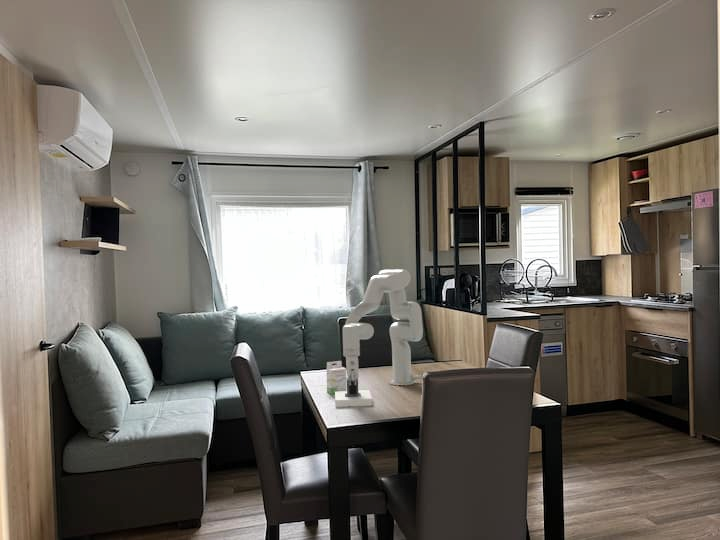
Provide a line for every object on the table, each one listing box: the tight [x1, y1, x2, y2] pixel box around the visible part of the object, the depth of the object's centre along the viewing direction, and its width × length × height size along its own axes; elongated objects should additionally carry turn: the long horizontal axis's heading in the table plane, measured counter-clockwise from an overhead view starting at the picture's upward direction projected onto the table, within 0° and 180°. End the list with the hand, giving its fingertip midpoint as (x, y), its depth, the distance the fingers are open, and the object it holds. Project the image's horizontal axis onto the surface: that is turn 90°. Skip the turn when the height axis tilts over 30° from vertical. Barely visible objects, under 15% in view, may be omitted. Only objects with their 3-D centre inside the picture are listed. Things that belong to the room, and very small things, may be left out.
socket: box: [334, 389, 373, 408], centre depth 230 cm, size 16×16×3 cm
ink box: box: [326, 360, 347, 395], centre depth 249 cm, size 9×5×15 cm, turn 118°
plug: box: [346, 377, 359, 397], centre depth 230 cm, size 5×5×10 cm
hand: (352, 392), depth 230 cm, fingers closed on plug, 5 cm apart
